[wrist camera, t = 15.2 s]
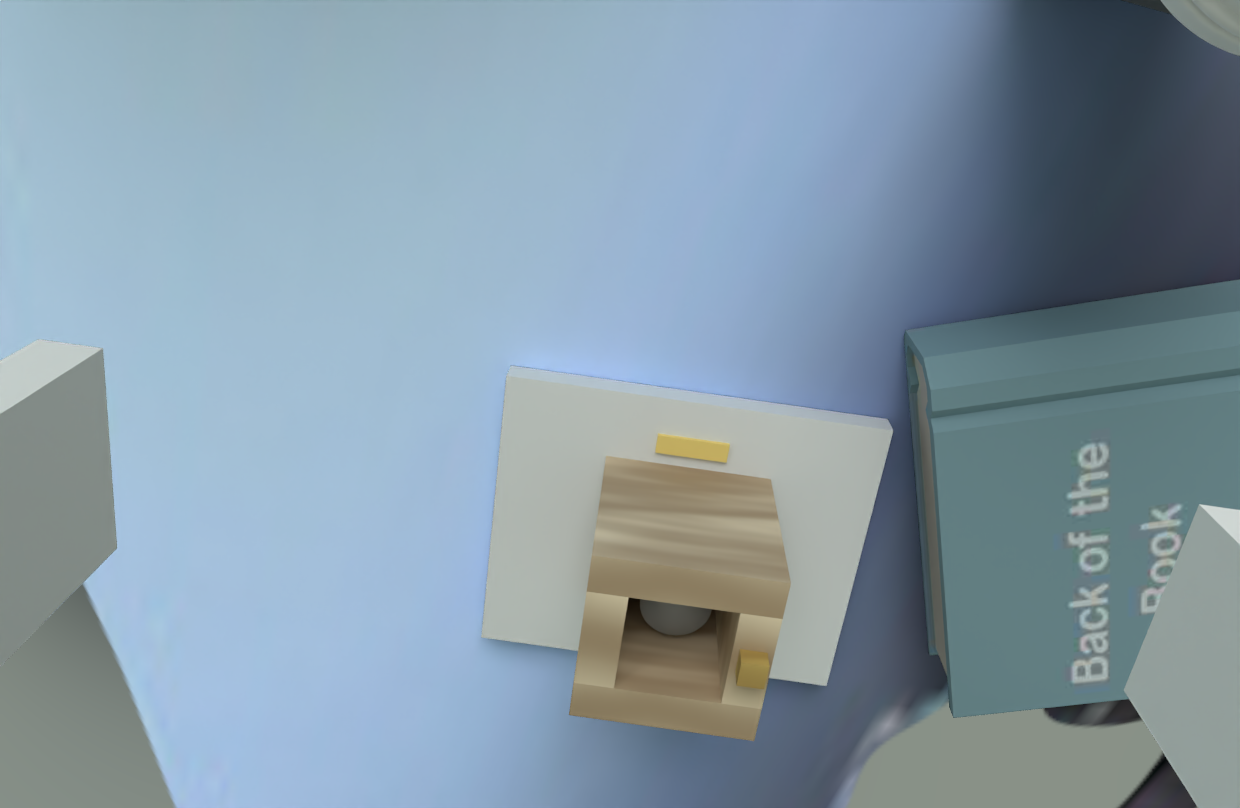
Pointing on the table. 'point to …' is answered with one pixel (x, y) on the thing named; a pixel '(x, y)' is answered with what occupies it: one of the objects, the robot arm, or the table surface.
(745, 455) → the plate
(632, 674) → the wooden cubby shelf
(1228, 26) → the coffee cup
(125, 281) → the table surface
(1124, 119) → the table surface
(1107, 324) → the book
